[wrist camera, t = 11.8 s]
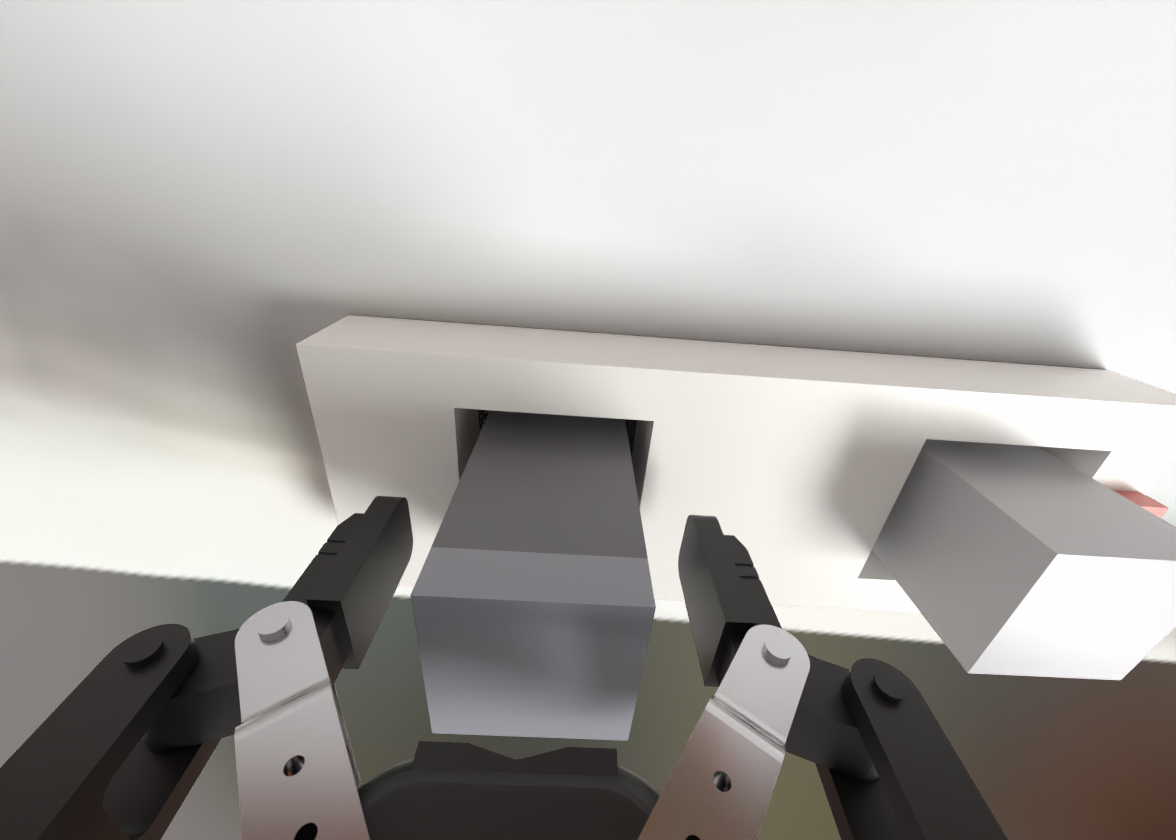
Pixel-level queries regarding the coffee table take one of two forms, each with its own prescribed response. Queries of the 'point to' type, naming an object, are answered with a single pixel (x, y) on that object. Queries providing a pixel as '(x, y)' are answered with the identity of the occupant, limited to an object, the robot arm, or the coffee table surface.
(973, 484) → the grey plug
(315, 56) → the coffee table surface
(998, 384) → the white block holder
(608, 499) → the grey rectangular block
